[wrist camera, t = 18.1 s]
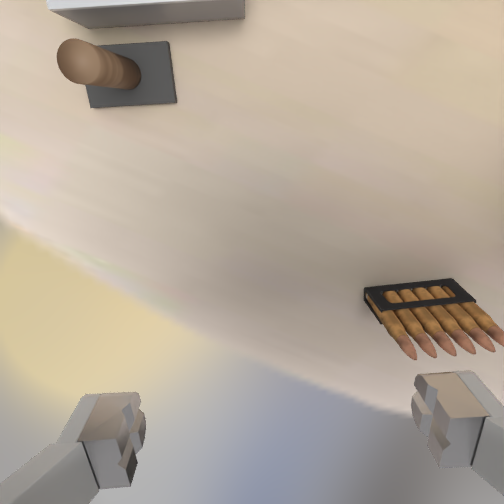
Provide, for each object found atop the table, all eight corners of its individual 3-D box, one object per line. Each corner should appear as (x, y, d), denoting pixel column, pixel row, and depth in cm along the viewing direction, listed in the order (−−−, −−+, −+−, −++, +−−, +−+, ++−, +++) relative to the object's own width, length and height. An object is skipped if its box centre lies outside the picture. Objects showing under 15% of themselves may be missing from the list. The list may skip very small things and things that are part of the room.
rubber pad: (169, 42, 32) (166, 41, 31) (177, 102, 34) (175, 102, 33) (81, 48, 32) (77, 47, 31) (94, 107, 34) (90, 107, 33)
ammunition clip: (452, 278, 42) (526, 340, 31) (451, 291, 43) (522, 357, 32) (364, 287, 42) (406, 352, 31) (363, 300, 43) (404, 368, 32)
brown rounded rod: (138, 56, 31) (92, 36, 22) (143, 88, 32) (102, 82, 23) (109, 59, 31) (51, 40, 22) (115, 90, 32) (63, 85, 23)
